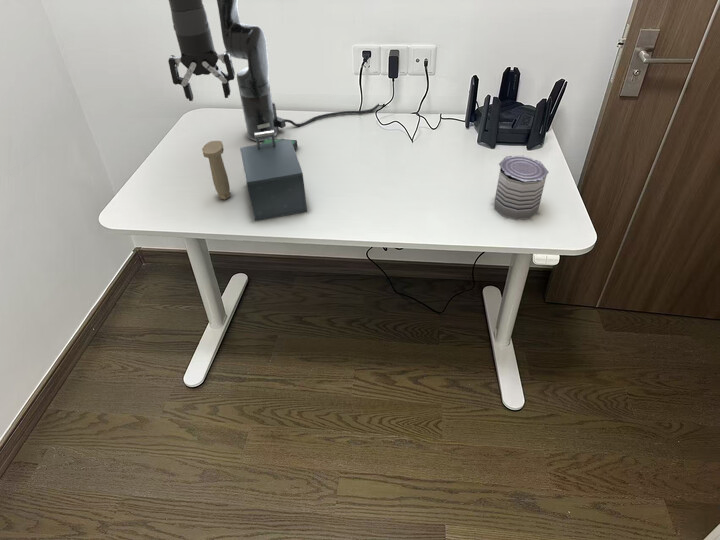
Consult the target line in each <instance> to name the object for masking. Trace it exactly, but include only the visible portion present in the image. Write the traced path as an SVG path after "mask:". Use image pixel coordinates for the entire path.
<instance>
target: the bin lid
mask: <svg viewBox="0 0 720 540" xmlns="http://www.w3.org/2000/svg"><path fill="white" fill-rule="evenodd" d="M254 134H255V139H256V141H255V142H256V144H253V145H248V146H240V147H239V150H240V155H241V159H242V165H243V170H244V175H245V181H246V186H248V185H250V184H256V183H262V182H268V181H273V180H279V179H285V178H291V177H297V176H303V177H304V174H303V170H302V167H301V164H300V161H299V159H298V156H297V152H296V151H295V150H294V147H293V144H292V141H291V140H292V139H288V140H285V141H279V142H275V139H276V138H275V137H276V136H275V134H274V130H267V131H260V132H254ZM269 137H271V138H272V143H266V144H261V143H260V141H259V139H263V138H269Z"/></svg>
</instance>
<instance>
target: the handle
mask: <svg viewBox="0 0 720 540" xmlns="http://www.w3.org/2000/svg"><path fill="white" fill-rule="evenodd" d="M224 149H225V148H224V144H223V141H221V140H210V141H209V142H206V143H205V144H204V145H203V147H202V149H201V152H202V154H203V157H204V158H206V159H208V163H209V167H210V172H211V176H212V183H213V186H214V189H215V191H216V193H217V196H218V197H219V199H220V200H227V199H228V198H230V197H231V192H230V190H231V188H230V181H229V176H228V173H227V170H226V167H225V163H224V160H223V157H222V155H223V154H224Z"/></svg>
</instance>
